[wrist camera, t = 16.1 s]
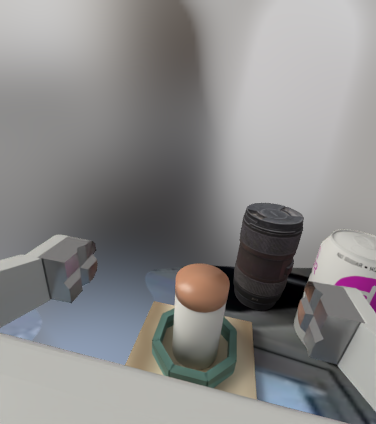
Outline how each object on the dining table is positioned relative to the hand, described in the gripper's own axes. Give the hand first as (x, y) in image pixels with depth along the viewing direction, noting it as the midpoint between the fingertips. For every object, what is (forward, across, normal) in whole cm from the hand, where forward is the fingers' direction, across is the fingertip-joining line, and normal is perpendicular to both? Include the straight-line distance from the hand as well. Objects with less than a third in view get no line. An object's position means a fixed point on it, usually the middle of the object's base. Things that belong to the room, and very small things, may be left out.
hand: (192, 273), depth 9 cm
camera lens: (+24, +8, -22) cm, 33 cm away
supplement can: (+18, +17, -22) cm, 33 cm away
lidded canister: (+12, 0, -20) cm, 23 cm away
